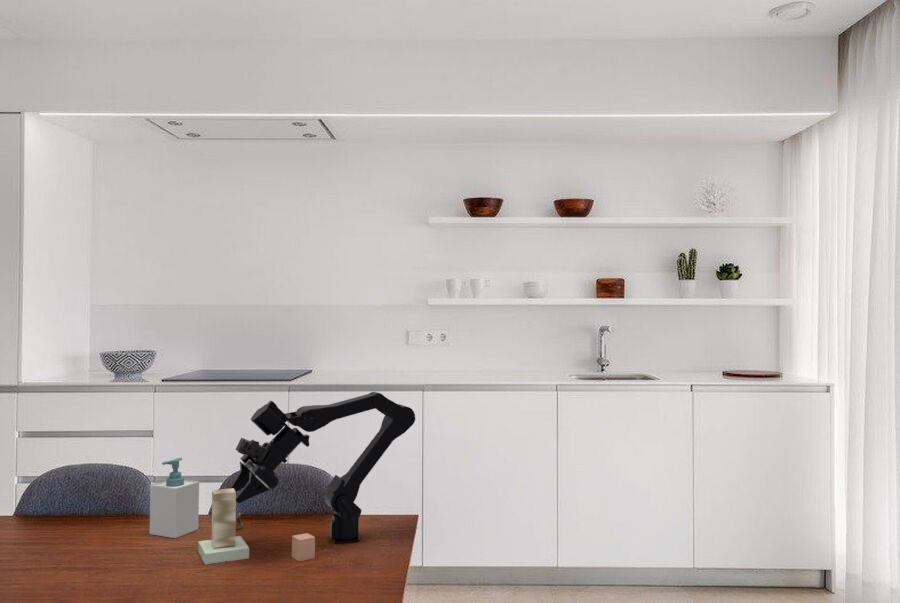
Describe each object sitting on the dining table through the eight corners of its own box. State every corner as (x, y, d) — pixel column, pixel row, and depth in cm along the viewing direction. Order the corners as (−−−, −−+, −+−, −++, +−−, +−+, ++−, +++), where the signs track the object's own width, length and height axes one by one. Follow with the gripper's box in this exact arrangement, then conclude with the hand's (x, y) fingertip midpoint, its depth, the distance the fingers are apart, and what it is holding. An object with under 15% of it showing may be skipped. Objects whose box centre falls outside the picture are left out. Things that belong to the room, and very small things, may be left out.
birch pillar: (233, 540, 178) (233, 488, 178) (235, 545, 173) (235, 492, 174) (211, 542, 176) (212, 490, 176) (213, 548, 171) (214, 494, 172)
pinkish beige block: (307, 553, 176) (307, 532, 176) (314, 558, 173) (315, 537, 173) (291, 556, 174) (292, 535, 174) (299, 561, 170) (299, 540, 171)
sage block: (240, 548, 181) (240, 536, 181) (249, 560, 172) (249, 548, 172) (198, 553, 176) (198, 541, 176) (204, 567, 168) (205, 553, 168)
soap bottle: (148, 534, 189) (150, 460, 189) (173, 525, 197) (174, 454, 197) (174, 538, 186) (176, 463, 186) (198, 529, 194) (200, 457, 194)
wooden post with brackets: (247, 525, 196) (241, 511, 194) (223, 543, 190) (218, 529, 189) (242, 523, 197) (237, 509, 196) (219, 542, 191) (213, 528, 190)
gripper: (249, 420, 186) (203, 467, 181) (265, 432, 170) (215, 484, 165) (279, 449, 190) (235, 496, 185) (298, 463, 173) (250, 515, 168)
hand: (233, 497), depth 175 cm, fingers open, 9 cm apart
